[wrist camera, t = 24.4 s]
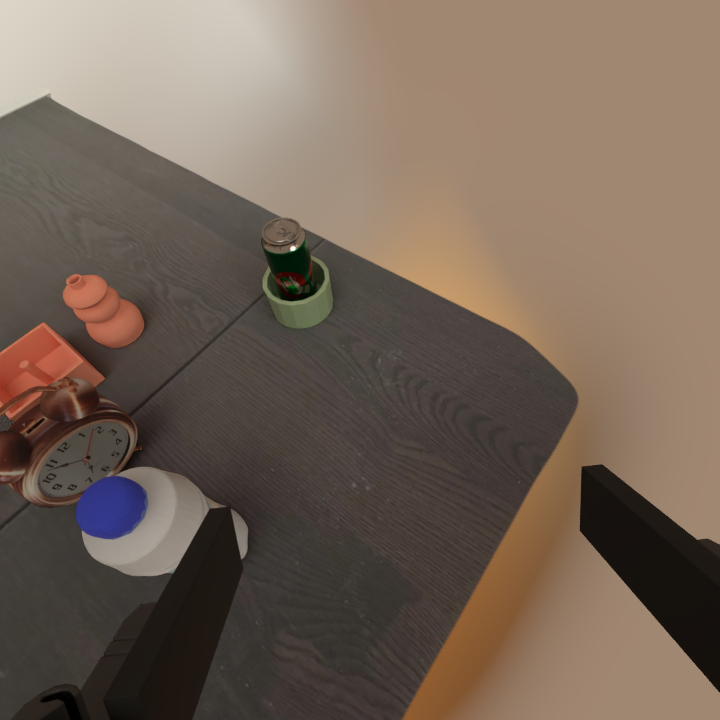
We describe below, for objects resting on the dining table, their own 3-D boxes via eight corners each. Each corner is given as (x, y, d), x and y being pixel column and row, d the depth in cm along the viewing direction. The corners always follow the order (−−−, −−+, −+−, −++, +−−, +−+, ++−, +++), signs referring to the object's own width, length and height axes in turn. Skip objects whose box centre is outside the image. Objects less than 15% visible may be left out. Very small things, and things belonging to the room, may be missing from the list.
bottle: (266, 519, 40) (179, 459, 23) (238, 593, 37) (112, 587, 20) (207, 500, 41) (83, 430, 24) (174, 571, 38) (5, 547, 21)
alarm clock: (82, 521, 41) (-55, 486, 28) (55, 495, 43) (-87, 450, 30) (162, 436, 45) (75, 372, 33) (135, 415, 47) (41, 346, 34)
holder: (316, 272, 57) (310, 245, 53) (344, 311, 53) (341, 286, 49) (262, 296, 55) (252, 271, 51) (287, 339, 51) (278, 315, 47)
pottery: (38, 433, 46) (-38, 396, 38) (1, 389, 50) (-77, 346, 41) (163, 331, 53) (122, 280, 45) (123, 298, 57) (77, 246, 48)
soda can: (300, 281, 56) (281, 209, 45) (327, 297, 54) (314, 226, 44) (274, 304, 54) (248, 234, 44) (302, 322, 52) (281, 253, 42)
